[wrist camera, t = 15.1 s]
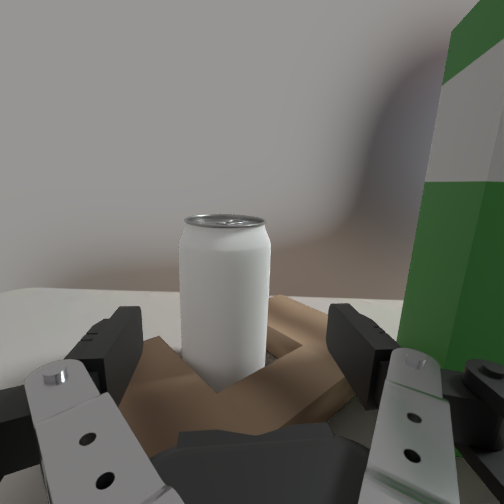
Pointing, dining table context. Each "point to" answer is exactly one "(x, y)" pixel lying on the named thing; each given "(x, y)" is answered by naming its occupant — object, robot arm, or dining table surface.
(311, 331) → the notched board
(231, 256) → the can
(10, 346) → the dining table surface
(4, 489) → the dining table surface
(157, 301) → the dining table surface
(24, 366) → the dining table surface
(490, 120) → the hardback book
